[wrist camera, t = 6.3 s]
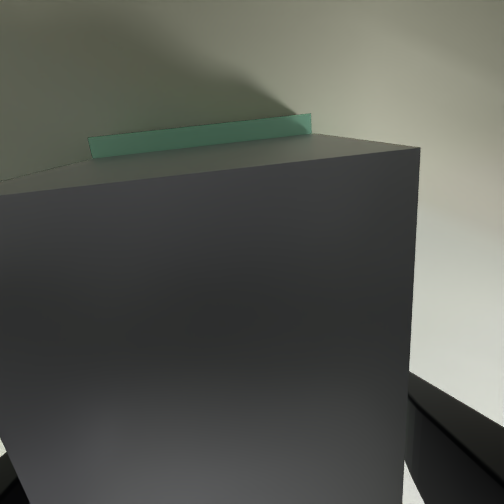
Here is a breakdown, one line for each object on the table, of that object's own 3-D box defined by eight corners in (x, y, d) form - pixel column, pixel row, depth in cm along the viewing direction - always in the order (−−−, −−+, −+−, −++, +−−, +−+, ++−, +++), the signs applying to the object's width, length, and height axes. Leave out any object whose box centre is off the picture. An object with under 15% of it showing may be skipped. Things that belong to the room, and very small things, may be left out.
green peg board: (298, 115, 9) (355, 107, 5) (316, 453, 14) (356, 602, 9) (108, 135, 9) (10, 145, 5) (184, 470, 13) (164, 629, 9)
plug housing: (314, 133, 8) (421, 147, 3) (329, 482, 12) (391, 718, 7) (93, 158, 8) (-105, 206, 3) (179, 499, 12) (141, 747, 7)
